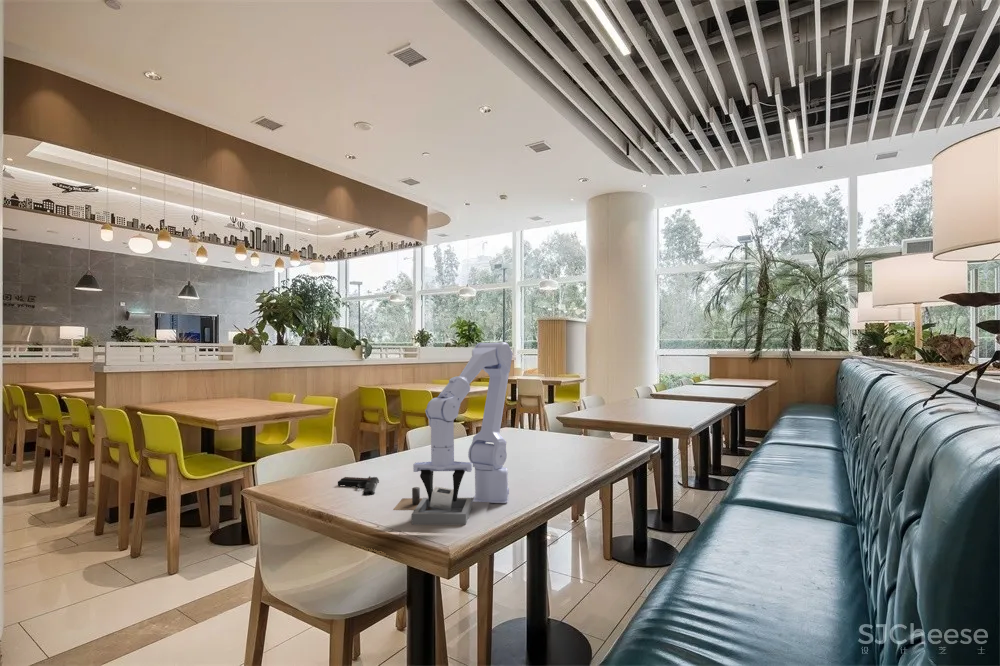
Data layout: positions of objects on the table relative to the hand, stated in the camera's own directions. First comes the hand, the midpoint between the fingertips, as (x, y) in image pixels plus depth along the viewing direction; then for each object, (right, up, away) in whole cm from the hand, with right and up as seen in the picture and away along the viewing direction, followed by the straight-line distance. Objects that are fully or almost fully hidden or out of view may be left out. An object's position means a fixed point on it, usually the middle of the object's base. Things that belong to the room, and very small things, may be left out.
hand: (443, 500), depth 124 cm
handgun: (-30, -6, +27) cm, 40 cm away
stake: (-8, -5, +9) cm, 13 cm away
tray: (0, -4, 0) cm, 4 cm away
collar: (0, -1, 0) cm, 1 cm away
